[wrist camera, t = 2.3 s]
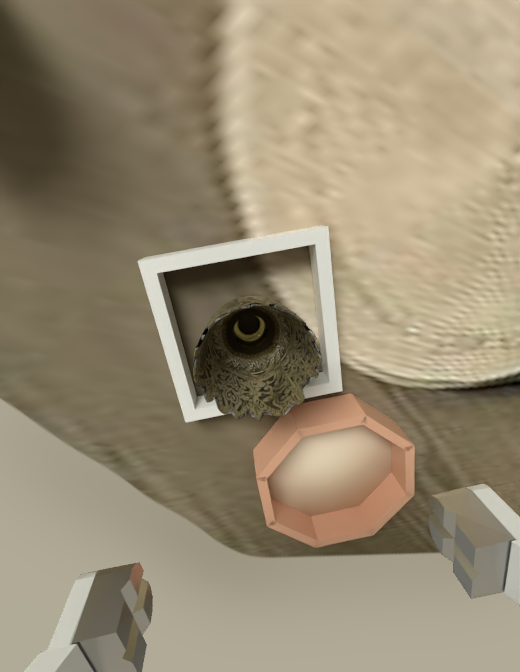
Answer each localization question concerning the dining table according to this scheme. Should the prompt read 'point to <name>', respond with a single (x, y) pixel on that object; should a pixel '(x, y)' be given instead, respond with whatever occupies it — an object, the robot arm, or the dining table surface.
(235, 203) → the dining table surface
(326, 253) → the open white square frame
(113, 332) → the dining table surface
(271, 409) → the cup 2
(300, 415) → the bowl
